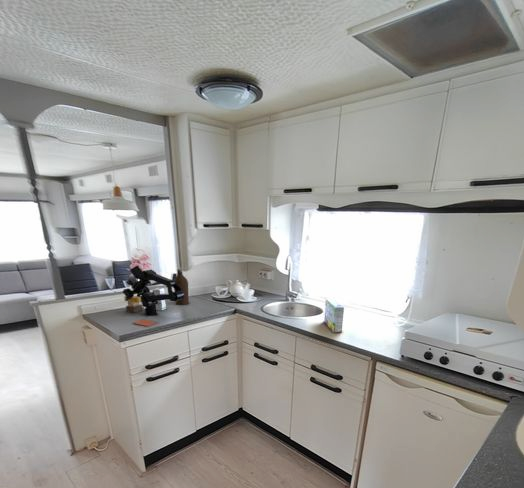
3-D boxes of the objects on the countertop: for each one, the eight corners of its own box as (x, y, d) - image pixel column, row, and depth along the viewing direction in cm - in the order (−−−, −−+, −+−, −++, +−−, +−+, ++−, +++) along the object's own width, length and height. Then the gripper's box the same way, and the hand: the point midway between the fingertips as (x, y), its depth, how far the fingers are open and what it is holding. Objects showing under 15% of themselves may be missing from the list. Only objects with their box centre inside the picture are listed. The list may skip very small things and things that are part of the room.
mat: (133, 323, 196) (133, 322, 196) (143, 320, 203) (143, 319, 203) (147, 326, 192) (146, 325, 192) (156, 322, 198) (156, 322, 198)
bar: (141, 301, 219) (141, 297, 218) (136, 302, 215) (136, 298, 214) (129, 299, 223) (129, 295, 222) (124, 300, 219) (124, 296, 218)
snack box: (323, 321, 205) (325, 298, 200) (331, 321, 206) (334, 298, 200) (332, 332, 186) (335, 307, 180) (342, 332, 186) (345, 307, 181)
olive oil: (192, 304, 242) (189, 269, 233) (178, 306, 236) (175, 271, 227) (185, 301, 250) (183, 268, 240) (172, 303, 244) (169, 269, 234)
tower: (142, 310, 223) (140, 300, 221) (134, 313, 217) (132, 302, 215) (134, 309, 226) (133, 299, 223) (126, 311, 220) (125, 301, 218)
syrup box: (162, 310, 224) (160, 289, 218) (154, 310, 225) (152, 289, 219) (166, 308, 229) (164, 288, 224) (158, 308, 230) (156, 287, 225)
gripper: (144, 272, 218) (134, 287, 227) (122, 276, 203) (112, 292, 212) (154, 285, 218) (144, 299, 227) (133, 290, 203) (123, 305, 211)
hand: (131, 299), depth 219 cm, fingers open, 9 cm apart
